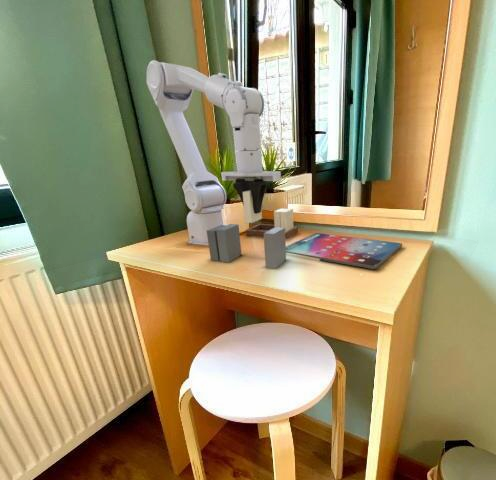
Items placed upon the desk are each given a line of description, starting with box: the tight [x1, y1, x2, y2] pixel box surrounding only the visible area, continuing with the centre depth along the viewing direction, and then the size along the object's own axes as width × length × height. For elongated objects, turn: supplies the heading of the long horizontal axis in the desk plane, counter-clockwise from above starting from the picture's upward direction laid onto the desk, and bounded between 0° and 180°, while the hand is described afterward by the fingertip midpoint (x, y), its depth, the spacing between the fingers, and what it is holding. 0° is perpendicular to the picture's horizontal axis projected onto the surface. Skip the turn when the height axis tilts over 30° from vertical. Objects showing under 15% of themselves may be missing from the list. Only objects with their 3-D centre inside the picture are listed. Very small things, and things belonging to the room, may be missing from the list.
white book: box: [243, 190, 263, 224], centre depth 71 cm, size 2×5×7 cm, turn 156°
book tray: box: [245, 223, 299, 240], centre depth 90 cm, size 13×8×2 cm, turn 66°
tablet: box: [286, 232, 403, 270], centre depth 75 cm, size 19×25×1 cm
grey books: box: [207, 223, 287, 270], centre depth 69 cm, size 17×6×8 cm, turn 66°
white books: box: [273, 208, 294, 233], centre depth 87 cm, size 4×5×7 cm
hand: (253, 212), depth 72 cm, fingers closed on white book, 2 cm apart
